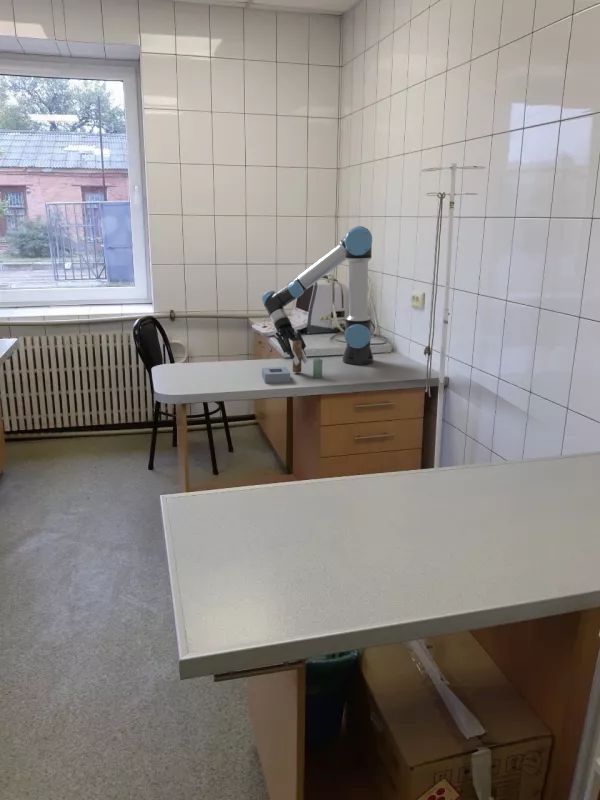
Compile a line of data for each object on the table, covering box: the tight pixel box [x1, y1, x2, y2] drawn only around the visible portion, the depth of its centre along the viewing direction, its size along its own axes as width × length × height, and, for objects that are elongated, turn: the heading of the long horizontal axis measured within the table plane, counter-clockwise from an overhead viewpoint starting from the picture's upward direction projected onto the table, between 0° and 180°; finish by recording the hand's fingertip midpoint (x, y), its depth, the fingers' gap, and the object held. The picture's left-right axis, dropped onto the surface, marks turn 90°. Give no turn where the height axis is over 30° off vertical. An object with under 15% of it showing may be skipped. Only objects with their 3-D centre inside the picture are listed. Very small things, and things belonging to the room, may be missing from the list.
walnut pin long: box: [292, 340, 302, 373], centre depth 282 cm, size 4×4×14 cm
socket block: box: [261, 366, 291, 384], centre depth 274 cm, size 11×11×4 cm
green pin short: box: [312, 358, 323, 379], centre depth 277 cm, size 4×4×8 cm
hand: (301, 362), depth 280 cm, fingers closed on walnut pin long, 4 cm apart
